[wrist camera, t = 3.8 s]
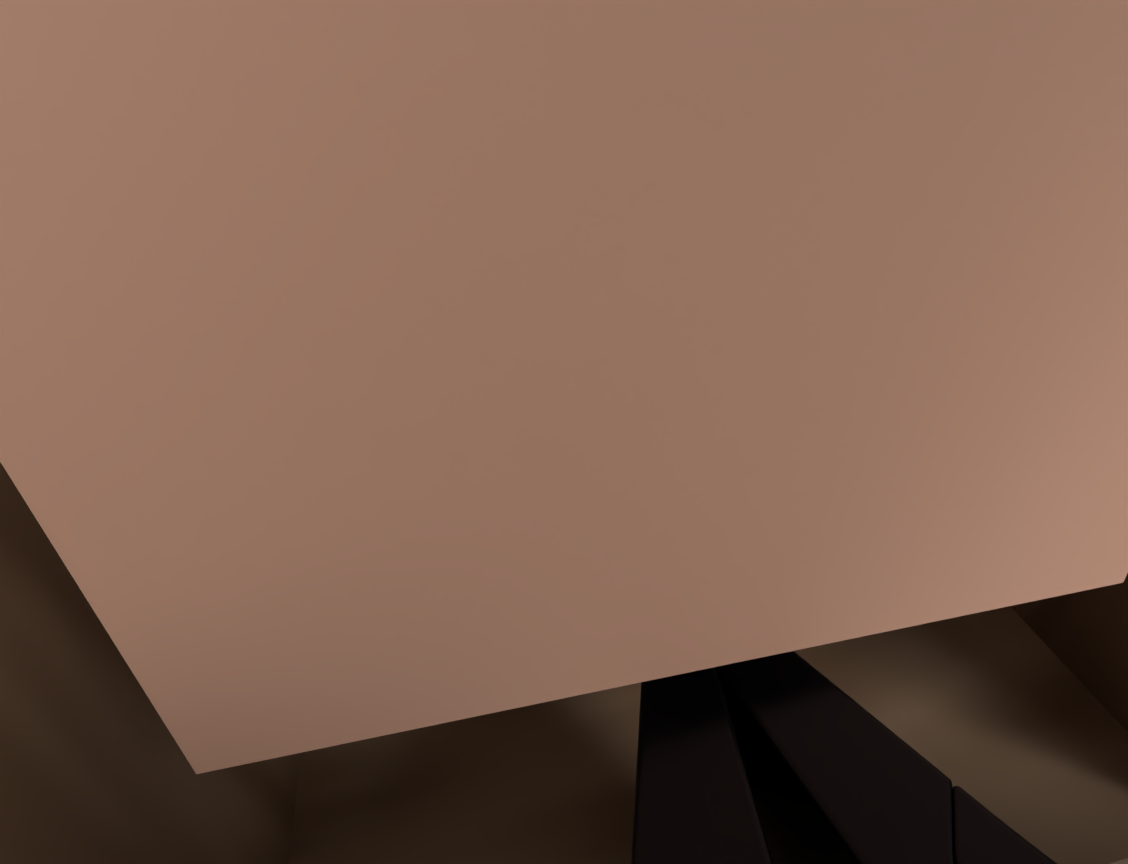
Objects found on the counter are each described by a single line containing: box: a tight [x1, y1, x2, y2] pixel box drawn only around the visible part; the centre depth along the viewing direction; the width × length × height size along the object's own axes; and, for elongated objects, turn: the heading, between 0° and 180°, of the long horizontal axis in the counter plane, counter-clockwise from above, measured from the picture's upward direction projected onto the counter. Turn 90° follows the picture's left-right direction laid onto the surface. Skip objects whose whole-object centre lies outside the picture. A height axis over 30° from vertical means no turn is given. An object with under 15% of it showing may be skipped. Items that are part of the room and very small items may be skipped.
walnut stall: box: [0, 462, 1128, 864], centre depth 8 cm, size 14×10×5 cm
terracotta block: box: [0, 0, 1128, 774], centre depth 6 cm, size 9×9×4 cm
